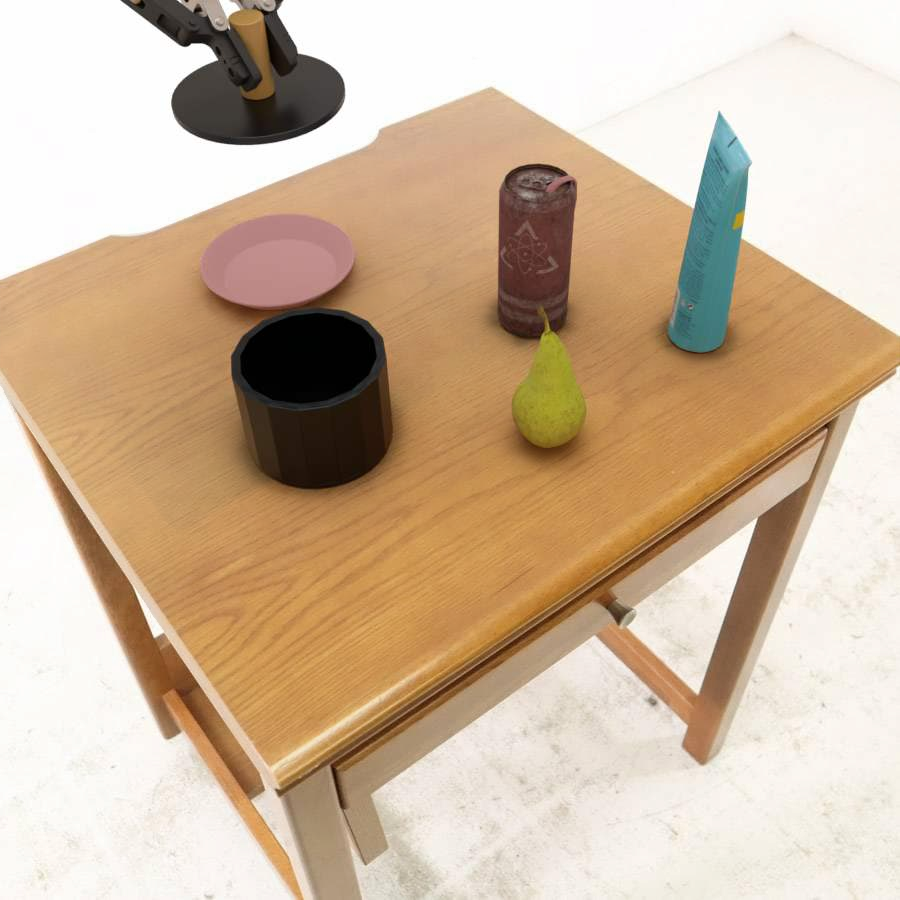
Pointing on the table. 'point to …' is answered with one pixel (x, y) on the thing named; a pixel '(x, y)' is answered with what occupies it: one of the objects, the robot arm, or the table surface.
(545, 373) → the fruit
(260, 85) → the lid
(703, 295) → the tube
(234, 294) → the plate
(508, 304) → the can
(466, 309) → the table surface
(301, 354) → the tin
